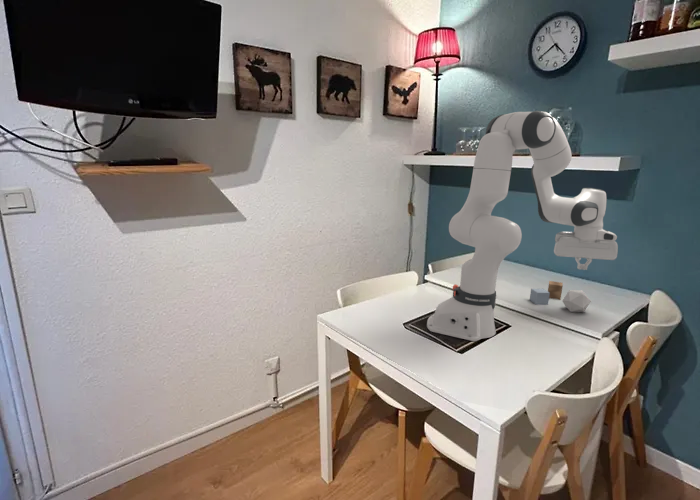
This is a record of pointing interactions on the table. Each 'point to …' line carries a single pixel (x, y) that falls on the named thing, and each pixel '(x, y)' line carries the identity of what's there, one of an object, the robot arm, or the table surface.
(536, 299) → the slate block
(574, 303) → the die
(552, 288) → the walnut block
